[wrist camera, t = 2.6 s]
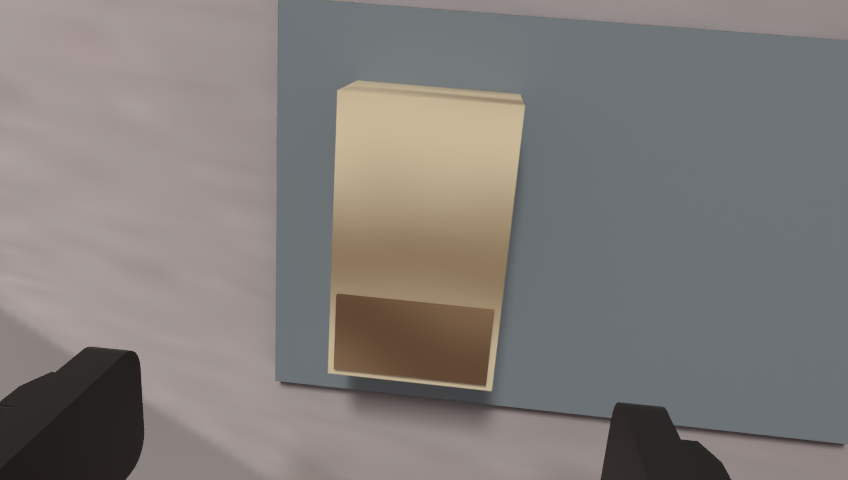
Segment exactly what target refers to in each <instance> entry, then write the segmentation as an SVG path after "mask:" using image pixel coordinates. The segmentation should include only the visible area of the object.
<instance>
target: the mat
mask: <svg viewBox="0 0 848 480" xmlns="http://www.w3.org/2000/svg"><path fill="white" fill-rule="evenodd" d="M357 80H359V81H371V82H383V83H395V84H407V85H419V86H431V87H443V88H455V89H467V90H479V91H491V92H503V93H515V94H520V95H521V97H522V100H523V102H524V105H525V111H524V120H523V128H522V137H521V145H520V154H519V163H518V171H517V180H516V188H515V197H514V205H513V214H512V223H511V231H510V240H509V248H508V257H507V265H506V274H505V283H504V291H503V300H502V308H501V317H500V326H499V334H498V343H497V351H496V360H495V368H494V377H493V386H492V391H485V390H476V389H467V388H458V387H449V386H440V385H431V384H422V383H413V382H403V381H394V380H385V379H376V378H367V377H358V376H349V375H340V374H330V373H328V353H329V323H330V293H331V263H332V233H333V203H334V173H335V143H336V113H337V90H339V89H341V88H343V87H345V86H347V85H349V84H351V83H353V82H355V81H357ZM275 381H281V382H290V383H299V384H308V385H317V386H326V387H335V388H344V389H353V390H362V391H371V392H380V393H389V394H398V395H407V396H416V397H425V398H434V399H443V400H452V401H461V402H470V403H480V404H489V405H498V406H507V407H516V408H525V409H534V410H543V411H552V412H561V413H570V414H579V415H588V416H597V417H606V418H611V417H612V413H613V409H614V406H615V404H616V403H617V402H623V403H632V404H642V405H652V406H661V407H665V408H666V410H667V412H668V414H669V416H670V418H671V420H672V422H673V424H674V425H678V426H687V427H696V428H705V429H714V430H723V431H732V432H741V433H750V434H759V435H768V436H777V437H786V438H795V439H804V440H813V441H822V442H831V443H840V444H848V40H835V39H822V38H809V37H796V36H782V35H769V34H756V33H743V32H730V31H717V30H704V29H691V28H677V27H664V26H651V25H638V24H625V23H612V22H599V21H586V20H572V19H559V18H546V17H533V16H520V15H507V14H494V13H481V12H467V11H454V10H441V9H428V8H415V7H402V6H389V5H376V4H363V3H349V2H336V1H323V0H278V104H277V241H276V379H275Z"/></svg>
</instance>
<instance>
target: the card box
mask: <svg viewBox="0 0 848 480" xmlns="http://www.w3.org/2000/svg"><path fill="white" fill-rule="evenodd" d="M524 111H525V105H524V102H523V100H522V97H521V95H520V94H515V93H503V92H491V91H479V90H467V89H455V88H443V87H431V86H419V85H407V84H395V83H383V82H371V81H359V80H357V81H355V82H353V83H351V84H349V85H347V86H345V87H343V88H341V89H339V90H337V113H336V143H335V173H334V203H333V233H332V263H331V293H330V323H329V353H328V373H330V374H340V375H349V376H358V377H367V378H376V379H385V380H394V381H403V382H413V383H422V384H431V385H440V386H449V387H458V388H467V389H476V390H485V391H492V386H493V377H494V368H495V360H496V351H497V343H498V334H499V326H500V317H501V308H502V300H503V291H504V283H505V274H506V265H507V257H508V248H509V240H510V231H511V223H512V214H513V205H514V197H515V188H516V180H517V171H518V163H519V154H520V145H521V137H522V128H523V120H524Z"/></svg>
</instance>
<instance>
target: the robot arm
mask: <svg viewBox="0 0 848 480" xmlns="http://www.w3.org/2000/svg"><path fill="white" fill-rule="evenodd" d="M143 440H144V420H143V403H142V386H141V370H140V361H139V358H138V356H137V354H136V353H135V352H133V351H128V350H118V349H108V348H99V347H87V348H85V349H83V350H82V351H81V352H80V353H78V354H77V355H76V356H75V357H73V358H72V359H71V360H70V361H69V362H67V363H66V364H65V365H64V366H62V367H61V368H60V369H59V370H58V371H56V372H50V373H48V374H46V375H44V376H41V377H39V378H37V379H35V380H32V381H30V382H28V383H26V384H23V385H21V386H19V387H18V388H17V389H16V390H14V391H13V392H12V393H11V394H9V395H8V396H6V397H5V398H4V399H3V400H2V401H1V402H0V480H126V478H127V477H128V476H129V475H130V473H131V472H132V470H133V469H134V468H135V466H136V464H137V462H138V459H139V457H140V454H141V451H142V446H143ZM601 480H731V479H730V477H729V475H728V473H727V471H726V469H725V468H724V466H723V464H722V462H721V461H719V460H718V459H717V458H716V457H715V456H714V455H713V454H712V453H710V452H709V451H708V450H707V449H706V448H705V447H704V446H702V445H701V444H700V443H699V442H698V441H689V440H681V439H680V437H679V435H678V433H677V431H676V429H675V427H674V424H673V422H672V420H671V418H670V416H669V414H668V412H667V410H666V408H665V407H661V406H652V405H642V404H632V403H623V402H617V403H616V404H615V406H614V409H613V413H612V417H611V423H610V429H609V435H608V441H607V446H606V452H605V458H604V464H603V469H602V475H601Z"/></svg>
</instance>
